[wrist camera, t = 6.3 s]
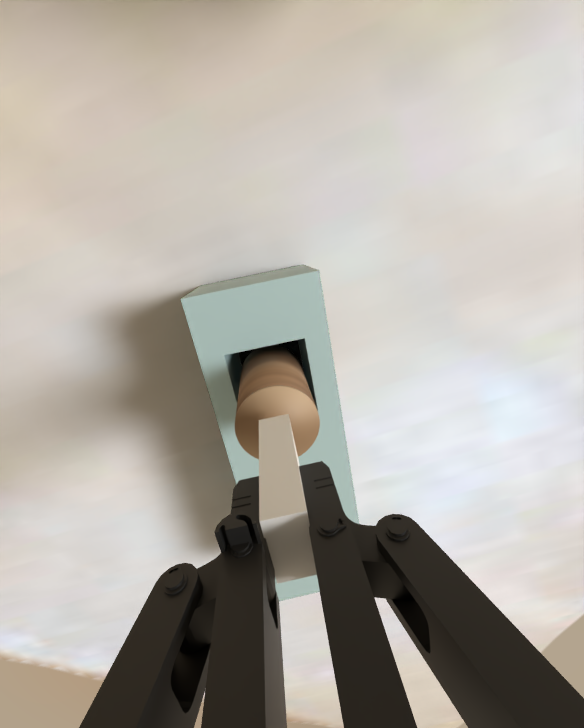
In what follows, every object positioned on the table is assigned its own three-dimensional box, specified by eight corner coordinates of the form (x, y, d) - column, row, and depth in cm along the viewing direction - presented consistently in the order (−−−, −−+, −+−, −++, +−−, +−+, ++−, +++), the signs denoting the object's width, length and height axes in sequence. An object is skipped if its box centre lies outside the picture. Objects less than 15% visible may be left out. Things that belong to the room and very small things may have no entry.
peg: (234, 352, 25) (224, 397, 17) (295, 339, 25) (312, 378, 18) (249, 407, 27) (245, 470, 19) (306, 394, 27) (325, 452, 19)
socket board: (200, 285, 29) (180, 299, 21) (303, 264, 29) (319, 270, 22) (269, 533, 38) (272, 602, 31) (346, 515, 39) (368, 580, 31)
